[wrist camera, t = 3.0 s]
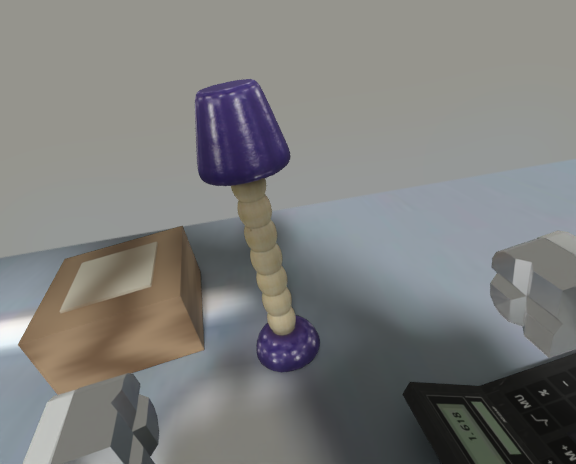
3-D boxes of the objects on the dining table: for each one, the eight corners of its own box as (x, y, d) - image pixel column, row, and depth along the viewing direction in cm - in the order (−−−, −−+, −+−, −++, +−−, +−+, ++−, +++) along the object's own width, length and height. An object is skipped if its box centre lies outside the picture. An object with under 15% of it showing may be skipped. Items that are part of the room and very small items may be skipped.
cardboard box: (58, 396, 25) (15, 342, 23) (91, 303, 34) (63, 257, 31) (204, 349, 26) (178, 293, 24) (200, 271, 35) (181, 223, 32)
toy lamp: (269, 317, 28) (199, 82, 20) (331, 318, 26) (284, 67, 18) (249, 371, 24) (150, 106, 16) (320, 376, 23) (254, 89, 14)
